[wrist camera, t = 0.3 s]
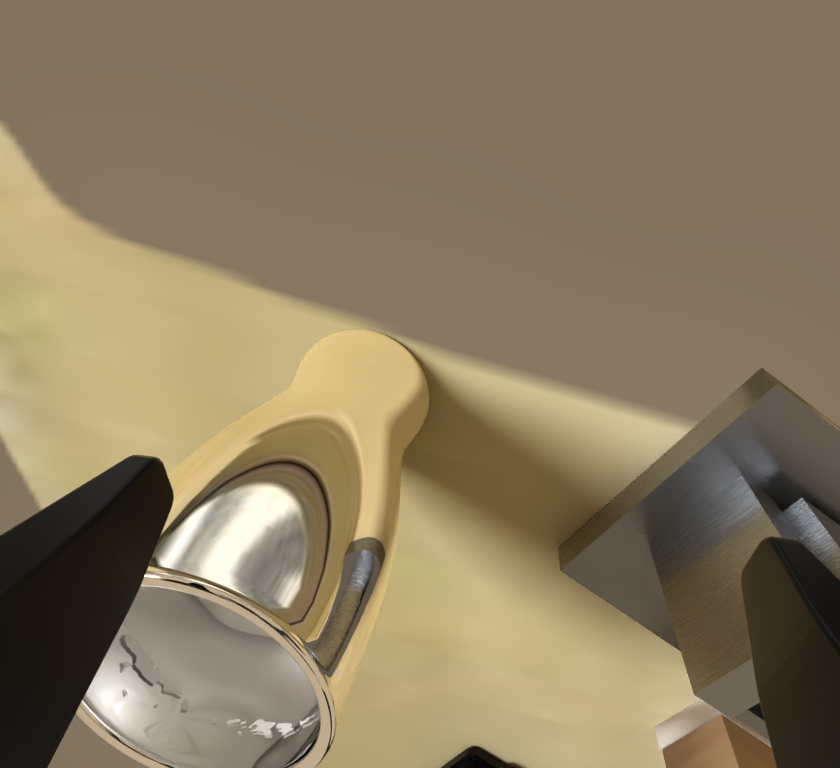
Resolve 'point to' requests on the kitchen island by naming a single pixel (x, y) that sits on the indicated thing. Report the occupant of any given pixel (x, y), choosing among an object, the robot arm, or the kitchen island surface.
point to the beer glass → (268, 571)
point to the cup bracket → (716, 532)
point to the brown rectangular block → (711, 741)
